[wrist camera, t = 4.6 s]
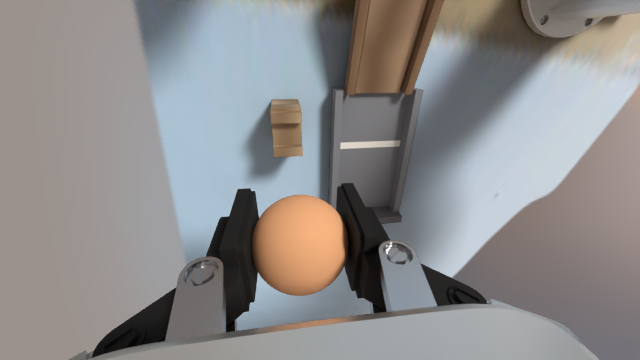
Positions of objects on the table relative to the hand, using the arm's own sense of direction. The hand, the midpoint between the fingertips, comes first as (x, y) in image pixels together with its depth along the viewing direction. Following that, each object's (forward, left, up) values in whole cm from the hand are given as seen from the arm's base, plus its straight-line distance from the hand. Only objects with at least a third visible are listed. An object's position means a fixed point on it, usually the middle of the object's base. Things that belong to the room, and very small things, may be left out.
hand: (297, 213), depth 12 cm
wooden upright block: (0, 0, -18) cm, 18 cm away
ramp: (-10, -9, -18) cm, 22 cm away
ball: (0, 0, +2) cm, 2 cm away
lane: (-10, +5, -18) cm, 21 cm away
